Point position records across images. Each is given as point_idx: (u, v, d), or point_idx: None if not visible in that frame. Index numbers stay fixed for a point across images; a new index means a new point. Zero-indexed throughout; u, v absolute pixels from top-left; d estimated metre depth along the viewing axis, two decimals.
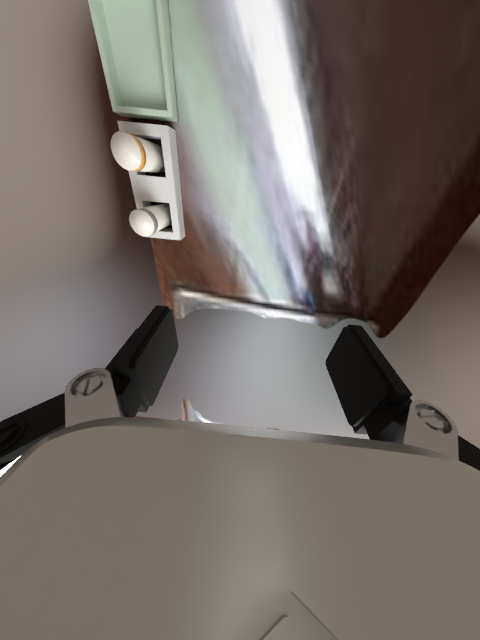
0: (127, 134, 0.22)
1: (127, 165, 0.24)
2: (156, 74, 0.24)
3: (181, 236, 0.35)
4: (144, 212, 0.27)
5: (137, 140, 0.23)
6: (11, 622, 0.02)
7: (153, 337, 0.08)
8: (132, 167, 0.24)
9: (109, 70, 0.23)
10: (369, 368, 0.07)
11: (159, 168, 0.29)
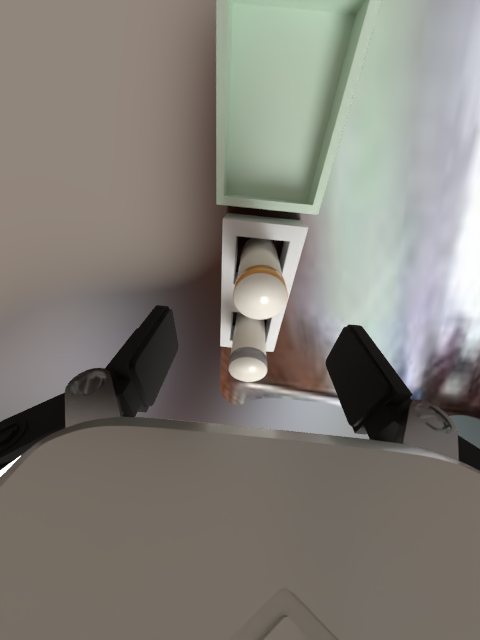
0: (273, 278, 0.12)
1: (254, 314, 0.13)
2: (299, 144, 0.14)
3: None
4: (256, 360, 0.17)
5: (283, 280, 0.12)
6: (10, 622, 0.02)
7: (153, 337, 0.08)
8: (262, 316, 0.13)
9: (225, 143, 0.13)
10: (369, 367, 0.07)
11: None
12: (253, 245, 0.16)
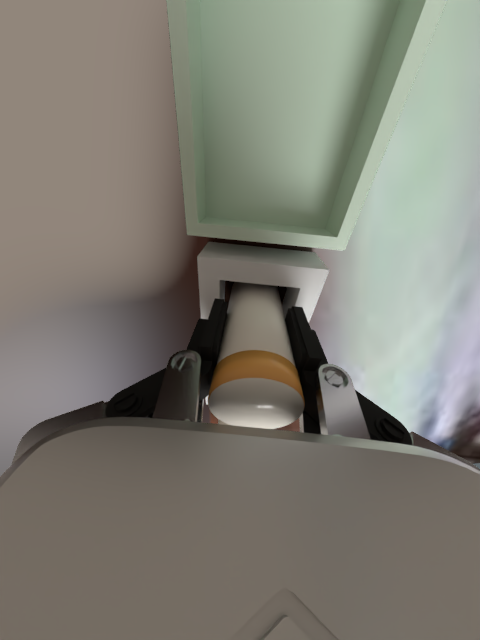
0: (280, 387, 0.06)
1: (246, 424, 0.08)
2: (317, 143, 0.09)
3: None
4: None
5: (296, 379, 0.07)
6: (10, 622, 0.02)
7: (222, 325, 0.09)
8: (260, 427, 0.08)
9: (194, 139, 0.08)
10: (296, 340, 0.08)
11: None
12: (245, 292, 0.11)
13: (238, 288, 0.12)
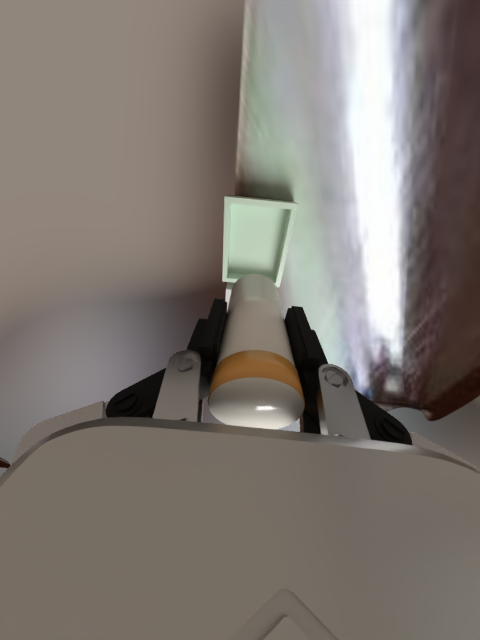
0: (280, 386, 0.06)
1: (246, 425, 0.08)
2: (267, 252, 0.26)
3: None
4: None
5: (296, 379, 0.07)
6: (11, 622, 0.02)
7: (222, 325, 0.09)
8: None
9: (227, 256, 0.24)
10: (296, 340, 0.08)
11: None
12: (245, 293, 0.11)
13: (238, 290, 0.12)
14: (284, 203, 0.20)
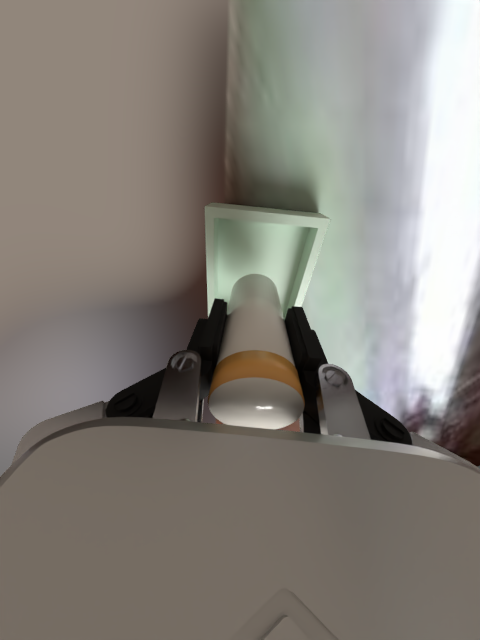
0: (280, 386, 0.06)
1: (246, 425, 0.08)
2: None
3: None
4: None
5: (296, 379, 0.07)
6: (10, 622, 0.02)
7: (222, 325, 0.09)
8: None
9: (214, 294, 0.16)
10: (296, 340, 0.08)
11: None
12: (245, 293, 0.11)
13: (238, 290, 0.12)
14: (306, 218, 0.12)
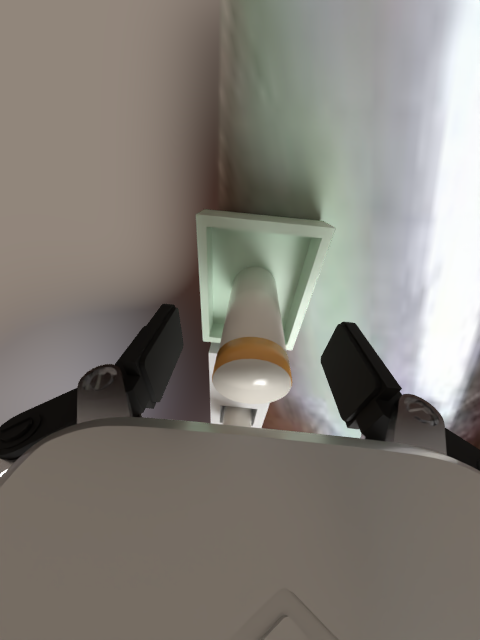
0: (271, 366, 0.08)
1: (244, 398, 0.09)
2: None
3: None
4: None
5: (285, 361, 0.08)
6: (11, 622, 0.02)
7: (161, 335, 0.08)
8: (255, 401, 0.09)
9: (209, 307, 0.15)
10: (360, 363, 0.08)
11: None
12: (245, 286, 0.12)
13: (238, 282, 0.13)
14: (309, 227, 0.11)
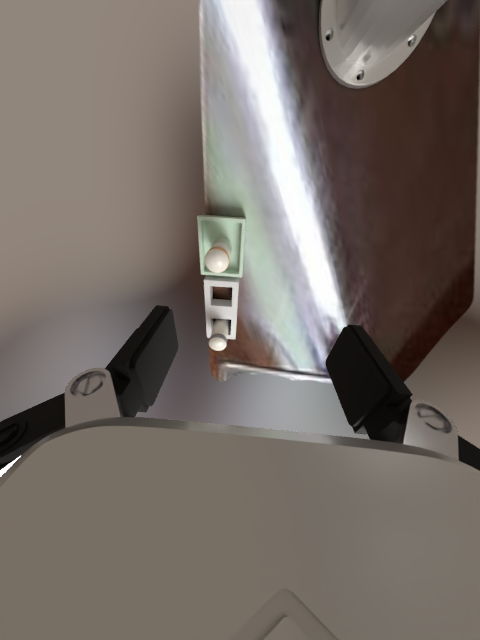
0: (220, 250, 0.27)
1: (215, 269, 0.29)
2: (232, 252, 0.36)
3: (235, 335, 0.46)
4: (220, 338, 0.38)
5: (226, 252, 0.28)
6: (11, 622, 0.02)
7: (153, 337, 0.08)
8: (219, 270, 0.29)
9: (203, 255, 0.35)
10: (368, 367, 0.07)
11: None
12: (216, 241, 0.32)
13: None
14: (236, 219, 0.31)
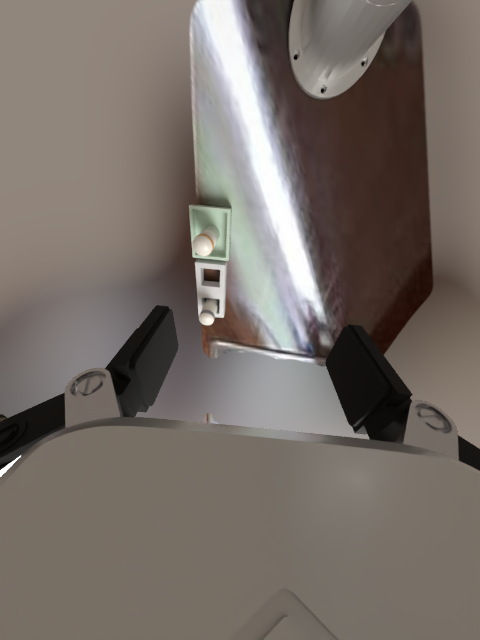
0: (205, 237, 0.33)
1: (201, 253, 0.35)
2: (220, 238, 0.41)
3: None
4: (208, 314, 0.44)
5: (210, 239, 0.33)
6: (10, 622, 0.02)
7: (153, 337, 0.08)
8: (205, 254, 0.35)
9: None
10: (368, 367, 0.07)
11: None
12: (205, 228, 0.38)
13: None
14: (222, 209, 0.36)
